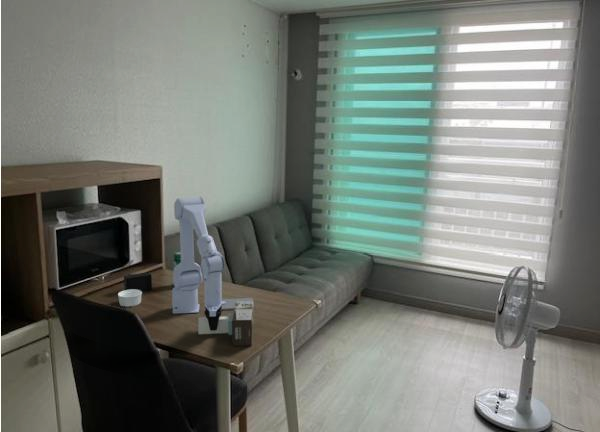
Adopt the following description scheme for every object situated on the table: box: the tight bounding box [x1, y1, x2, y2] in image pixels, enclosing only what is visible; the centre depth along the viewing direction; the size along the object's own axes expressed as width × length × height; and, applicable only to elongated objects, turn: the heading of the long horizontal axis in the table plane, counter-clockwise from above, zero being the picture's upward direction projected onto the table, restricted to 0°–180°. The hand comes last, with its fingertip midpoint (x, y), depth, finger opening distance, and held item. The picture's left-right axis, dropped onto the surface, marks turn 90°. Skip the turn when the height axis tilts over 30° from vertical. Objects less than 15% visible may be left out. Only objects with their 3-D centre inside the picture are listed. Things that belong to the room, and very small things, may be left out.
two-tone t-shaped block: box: [197, 313, 233, 336], centre depth 157 cm, size 11×6×5 cm, turn 99°
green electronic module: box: [172, 250, 181, 269], centre depth 201 cm, size 6×6×15 cm
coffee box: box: [231, 300, 254, 347], centre depth 154 cm, size 9×6×16 cm
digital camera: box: [123, 271, 153, 293], centre depth 195 cm, size 10×5×7 cm, turn 123°
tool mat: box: [220, 297, 255, 311], centre depth 181 cm, size 18×10×1 cm, turn 99°
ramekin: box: [117, 289, 143, 308], centre depth 181 cm, size 9×9×4 cm
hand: (213, 328), depth 157 cm, fingers closed on two-tone t-shaped block, 2 cm apart
